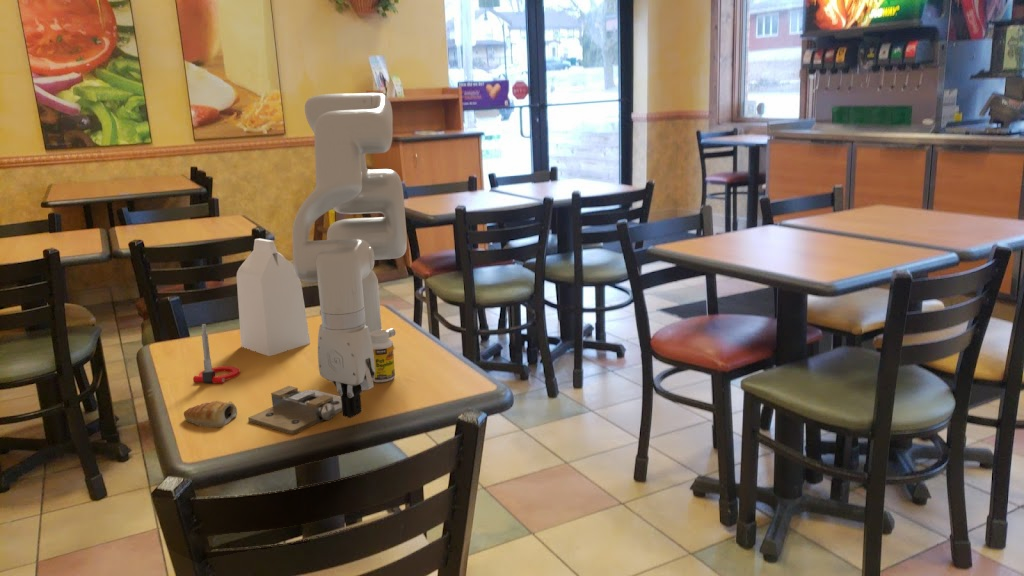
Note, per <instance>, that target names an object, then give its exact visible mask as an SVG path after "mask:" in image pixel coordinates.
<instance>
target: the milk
mask: <svg viewBox="0 0 1024 576" xmlns="http://www.w3.org/2000/svg"><path fill="white" fill-rule="evenodd" d="M301 281H302V280H300V279H299V278H298V277H297V275H296V273H295V270H294V264H293V262H291V261H289V259H287V258H285V256H284V255H283V254H282V253H280V252H278V250H277V247H276V244H275V241H274V240H273V239H272V240H270V239H266V238H260V237H259V238H255V239H254V243H253V250H252V251H251V252H250V254H248V256H247V257H246V258H245V260H244V261H243V262H242V264H241V265H240V266H239V267H238V270H237V272H236V288H237V303H238V318H239V333H240V335H239V336H240V347H241V348H243V347H244V349H246V348H247V350H249V349H250V351H252V352H255V351H256V352H255V353H259V354H262V355H263V356H267V357H271V356H274V355H278V354H281V353H283V352H284V353H285V352H288V351H290V350H294V349H297V348H300V347H304V346H307V345H310V344H311V339H310V333H309V326H308V319H307V313H306V307H305V300H304V295H303V285H302V282H301ZM287 350H288V351H287Z"/></svg>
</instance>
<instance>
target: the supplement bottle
mask: <svg viewBox="0 0 1024 576" xmlns="http://www.w3.org/2000/svg"><path fill="white" fill-rule="evenodd" d="M386 330H387V329H386ZM386 330H384V329H382V330H376V331H372V332H370V337H371V342H372V347H373V353H374V361H375V376H374V377H373V378H372V381H373V383H386V382H390V381H392V380H394V378H395V377H396V373H395V370H396V369H395V358H394V356H395V355H394V344H393V340H392V339H390V338H389V335H388V331H386Z"/></svg>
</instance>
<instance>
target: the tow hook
mask: <svg viewBox="0 0 1024 576" xmlns="http://www.w3.org/2000/svg"><path fill="white" fill-rule="evenodd" d="M201 330H202V331H201V332H202V334H201V342H202V348H203V349H202V351H203V366H204V367H203V368H204V370H202V371H200V372H199V374H198V375H194V376H193V382H194V383H197V384H198V383H200V384H201V383H202V384H212V385H213V384H225V383H226V380H227V381H228V380H230V379H233V378H235V377H238V376H239V375H240V374H241V371H240V368H239V367H236V366H231V365H230V366H224V365H223V366H216V367H212V359H211V355H210V354H211V353H210V344H209V334H208V333H207V326H206V323H202V324H201ZM220 372H229V373H226V374H222V375H220V374H219V375H218V376H216V373H220Z"/></svg>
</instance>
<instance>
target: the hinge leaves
mask: <svg viewBox="0 0 1024 576" xmlns="http://www.w3.org/2000/svg"><path fill="white" fill-rule="evenodd" d="M270 394H271V395H270V396H271V403H272V407H270V408H267V409H265V410H263V411H260V412H257V413H256V414H253V415H251V416H249V417H248V423H252V424H256V425H259V426H262V427H266V428H269V429H272V430H276V431H279V432H282V433H286V434H289V435H292V436H293V435H294V436H295V434H298V433H299V432H302V431H304V430H306V429H309V428H311V427H312V426H314V425H316V424H318V423H320V422H322V421H324V420H326V419H322V418H321V416H319V411H318V407H319V406H321V405H323V404H325V403H330V404H332V405H333V406H334V408H335V412H334V415H337V414H338V413H341V412H342V402H341V396H342V395H336V394H332V393H328V392H324V391H320V390H318V389H317V390H316V389H309V390H307V389H306V390H303V391H300V390H299V389H298V387H295V386H291V385H287V386H285V387H283V388H280V389H278V390H275V391H273V392H271V393H270ZM287 395H291V397H289V399H287V398H283V397H284V396H287ZM303 400H310V401H308V402H306V403H302V402H301V401H303ZM334 415H333V416H334Z"/></svg>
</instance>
